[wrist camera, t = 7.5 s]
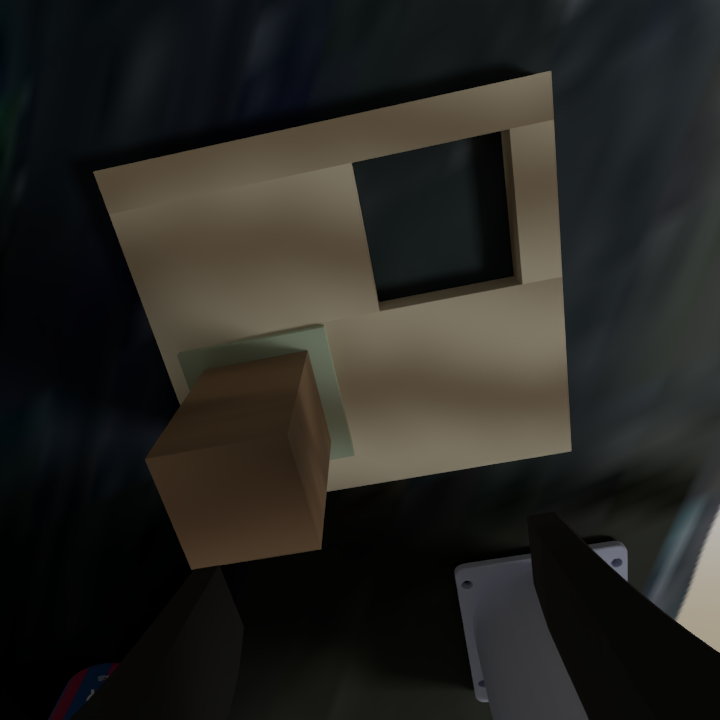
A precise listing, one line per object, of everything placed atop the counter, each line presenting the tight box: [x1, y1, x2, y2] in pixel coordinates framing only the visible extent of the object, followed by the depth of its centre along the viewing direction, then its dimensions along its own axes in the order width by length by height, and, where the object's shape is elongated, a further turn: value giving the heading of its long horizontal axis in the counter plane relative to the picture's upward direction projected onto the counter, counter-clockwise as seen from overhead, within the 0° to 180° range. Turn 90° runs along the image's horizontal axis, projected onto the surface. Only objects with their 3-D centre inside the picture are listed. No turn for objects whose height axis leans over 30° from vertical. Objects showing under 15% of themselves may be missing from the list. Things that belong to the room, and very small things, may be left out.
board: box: [93, 71, 571, 492], centre depth 20 cm, size 14×15×2 cm
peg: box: [145, 350, 331, 570], centre depth 18 cm, size 4×4×6 cm
